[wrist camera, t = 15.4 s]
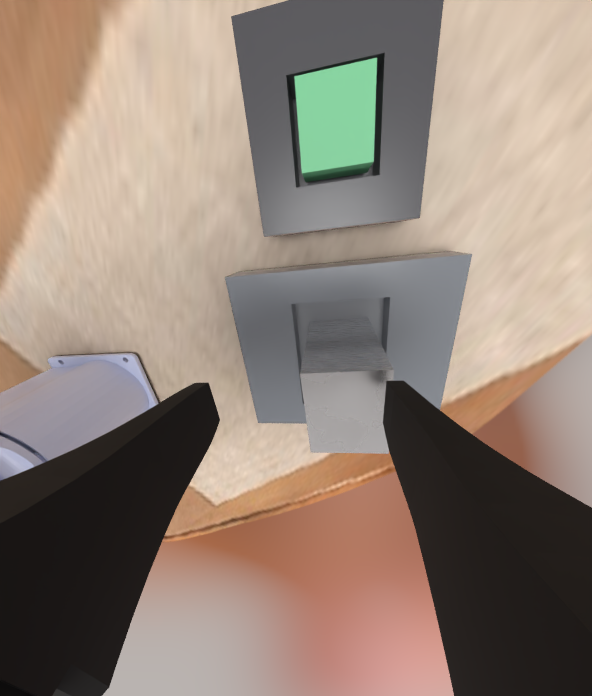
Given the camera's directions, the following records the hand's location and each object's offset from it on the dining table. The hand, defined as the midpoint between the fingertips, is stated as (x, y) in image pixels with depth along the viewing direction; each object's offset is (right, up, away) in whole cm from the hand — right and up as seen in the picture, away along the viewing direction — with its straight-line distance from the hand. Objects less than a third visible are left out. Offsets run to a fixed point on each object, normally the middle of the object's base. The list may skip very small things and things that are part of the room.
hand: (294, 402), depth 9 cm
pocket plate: (+3, +3, +9) cm, 10 cm away
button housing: (+2, +13, +4) cm, 14 cm away
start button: (+2, +13, +2) cm, 13 cm away
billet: (+3, +2, +8) cm, 9 cm away
